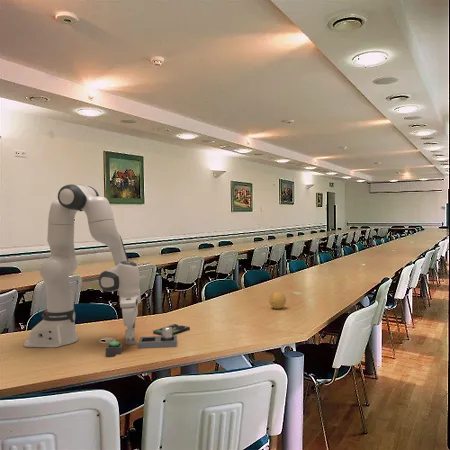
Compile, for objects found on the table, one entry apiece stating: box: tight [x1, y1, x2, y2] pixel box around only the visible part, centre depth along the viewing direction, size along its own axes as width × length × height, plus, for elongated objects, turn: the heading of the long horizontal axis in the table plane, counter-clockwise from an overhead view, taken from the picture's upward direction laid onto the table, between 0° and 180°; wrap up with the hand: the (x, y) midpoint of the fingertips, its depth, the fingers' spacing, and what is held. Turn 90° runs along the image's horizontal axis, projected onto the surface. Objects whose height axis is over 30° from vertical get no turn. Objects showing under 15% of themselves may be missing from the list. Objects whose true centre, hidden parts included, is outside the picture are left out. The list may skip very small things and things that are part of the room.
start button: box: [109, 340, 120, 347], centre depth 176 cm, size 4×4×1 cm
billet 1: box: [124, 328, 136, 347], centre depth 187 cm, size 4×4×7 cm
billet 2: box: [162, 325, 172, 341], centre depth 186 cm, size 4×4×7 cm
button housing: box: [105, 342, 124, 358], centre depth 176 cm, size 6×6×4 cm
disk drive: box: [152, 323, 191, 336], centre depth 205 cm, size 10×3×15 cm
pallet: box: [137, 334, 178, 349], centre depth 186 cm, size 16×9×3 cm, turn 95°
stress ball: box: [268, 291, 287, 310], centre depth 253 cm, size 10×10×10 cm
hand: (131, 331), depth 186 cm, fingers open, 8 cm apart
